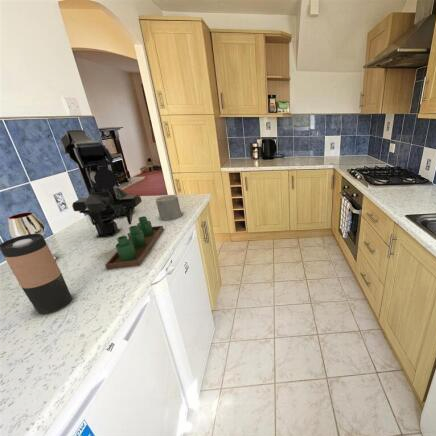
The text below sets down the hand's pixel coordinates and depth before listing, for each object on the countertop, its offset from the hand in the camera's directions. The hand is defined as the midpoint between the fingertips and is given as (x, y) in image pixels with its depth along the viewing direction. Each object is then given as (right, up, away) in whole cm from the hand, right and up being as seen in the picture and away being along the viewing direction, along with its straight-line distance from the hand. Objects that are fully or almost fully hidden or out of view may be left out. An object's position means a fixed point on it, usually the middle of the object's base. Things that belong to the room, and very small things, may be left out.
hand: (116, 225), depth 86 cm
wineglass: (-27, -13, +1) cm, 30 cm away
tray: (+2, -9, +10) cm, 13 cm away
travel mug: (-3, -21, -19) cm, 29 cm away
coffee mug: (0, +4, +39) cm, 40 cm away
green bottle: (+4, -12, +1) cm, 13 cm away
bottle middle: (+2, -9, +10) cm, 13 cm away
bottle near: (0, -5, +18) cm, 19 cm away
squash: (-28, +4, +42) cm, 51 cm away
